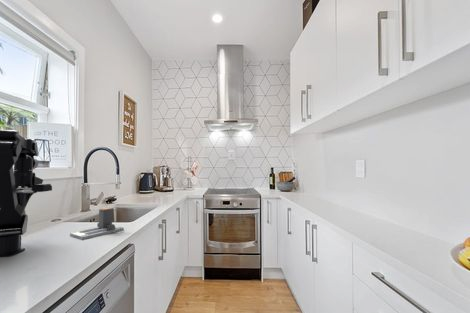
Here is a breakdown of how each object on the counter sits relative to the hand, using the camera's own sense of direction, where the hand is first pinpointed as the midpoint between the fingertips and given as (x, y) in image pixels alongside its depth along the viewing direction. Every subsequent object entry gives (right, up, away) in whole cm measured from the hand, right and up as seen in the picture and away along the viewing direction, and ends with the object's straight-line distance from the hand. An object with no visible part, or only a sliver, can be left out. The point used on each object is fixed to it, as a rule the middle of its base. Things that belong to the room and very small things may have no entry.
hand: (22, 210), depth 99 cm
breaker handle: (+26, -11, +14) cm, 31 cm away
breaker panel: (+24, -12, +11) cm, 29 cm away
